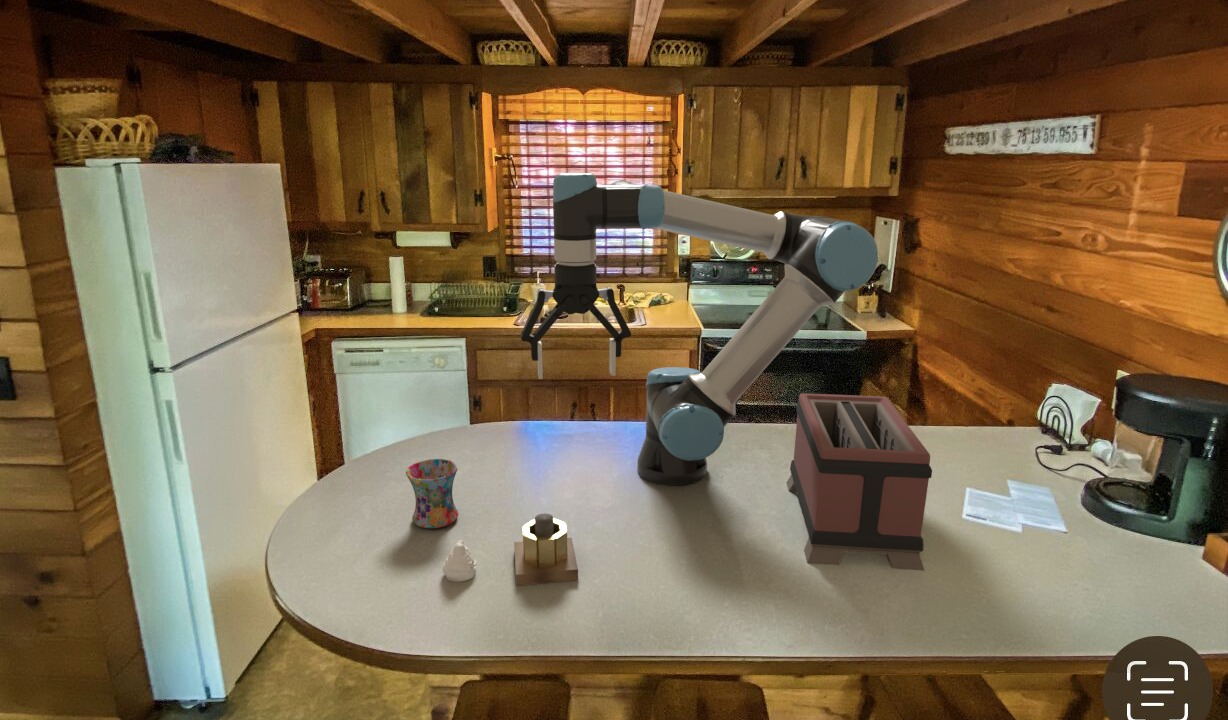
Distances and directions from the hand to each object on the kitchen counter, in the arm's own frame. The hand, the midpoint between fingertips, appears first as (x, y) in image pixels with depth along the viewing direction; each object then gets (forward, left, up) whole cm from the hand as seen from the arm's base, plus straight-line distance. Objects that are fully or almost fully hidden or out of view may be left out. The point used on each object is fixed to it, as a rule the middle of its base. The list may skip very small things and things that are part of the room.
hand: (576, 375), depth 135 cm
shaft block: (+8, +21, -27) cm, 35 cm away
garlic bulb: (+22, +21, -27) cm, 41 cm away
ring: (+8, +21, -25) cm, 33 cm away
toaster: (-50, +13, -27) cm, 58 cm away
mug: (+27, +1, -27) cm, 38 cm away
